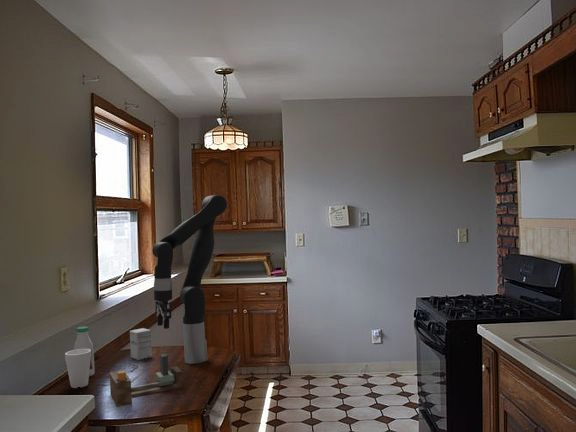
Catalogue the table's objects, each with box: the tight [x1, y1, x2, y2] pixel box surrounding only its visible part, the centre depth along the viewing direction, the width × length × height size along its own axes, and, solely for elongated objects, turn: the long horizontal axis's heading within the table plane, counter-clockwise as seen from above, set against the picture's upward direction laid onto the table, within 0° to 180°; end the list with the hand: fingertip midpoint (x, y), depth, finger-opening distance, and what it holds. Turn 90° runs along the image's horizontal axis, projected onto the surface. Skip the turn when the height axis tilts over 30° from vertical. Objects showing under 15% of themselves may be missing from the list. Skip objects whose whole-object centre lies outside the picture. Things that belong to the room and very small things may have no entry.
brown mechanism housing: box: [109, 365, 183, 408], centre depth 183 cm, size 24×15×8 cm, turn 117°
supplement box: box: [129, 327, 153, 361], centre depth 235 cm, size 7×7×13 cm
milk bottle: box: [73, 326, 95, 377], centre depth 210 cm, size 8×8×20 cm
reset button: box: [117, 370, 127, 382], centre depth 175 cm, size 2×2×4 cm
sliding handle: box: [155, 353, 174, 386], centre depth 189 cm, size 5×7×11 cm
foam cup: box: [64, 349, 91, 389], centre depth 197 cm, size 10×9×13 cm
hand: (163, 326), depth 215 cm, fingers open, 8 cm apart
